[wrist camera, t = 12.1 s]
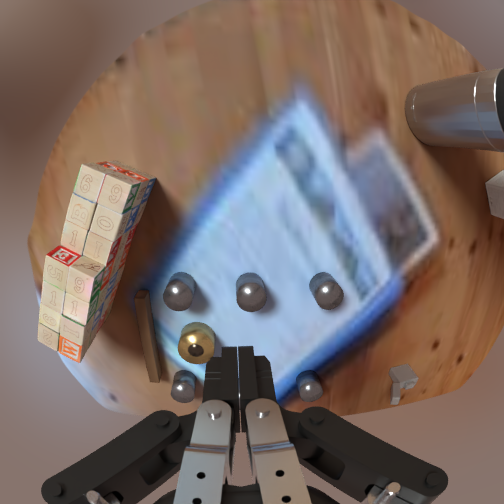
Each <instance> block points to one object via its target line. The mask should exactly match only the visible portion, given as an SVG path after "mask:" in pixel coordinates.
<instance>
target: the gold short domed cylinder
mask: <svg viewBox="0 0 504 504" xmlns="http://www.w3.org/2000/svg"><path fill="white" fill-rule="evenodd" d="M214 345H215V334H214V331H213V330H212V329H211V328H210V327H209V326H208V325H206V324H204V323H200V322H193V323H189V324H187V325H186V326H185V327H184V328H183V329H182V332H181V336H180V340H179V344H178V352H179V354H180V356H181V357H182V358H183V359H184V360H185V361H187V362H189V363H193V364H203V363H206V362H208V361H209V360H210V358H211V357H213V355H214Z"/></svg>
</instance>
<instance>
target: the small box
mask: <svg viewBox="0 0 504 504" xmlns="http://www.w3.org/2000/svg"><path fill="white" fill-rule="evenodd" d="M485 185H486V190H487V195H488V201H489V206H490V211H491V215H493V216H496V217H499V218H501V219H504V170H502V171H501V172H500V173H498V174H497V175H495V176H494V177H493V178H491V179H490V180H489V181H487V182H486V183H485Z"/></svg>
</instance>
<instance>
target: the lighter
mask: <svg viewBox="0 0 504 504" xmlns="http://www.w3.org/2000/svg"><path fill="white" fill-rule="evenodd" d="M389 376H390V377H391V379H392V380H393V382H394V383H393V384H392V387H391V399H390V404H394V405H398V403H399V400H400V388H405V390H407V389H410V388H413V387H414V385H415V384H416V382H417V380H418V377H417V375H416V374H415V373H414V371H413V370H412V369H411V367H410V366H409V365H408V364H405V365H401V366H397V367H392V368H390V371H389Z"/></svg>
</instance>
